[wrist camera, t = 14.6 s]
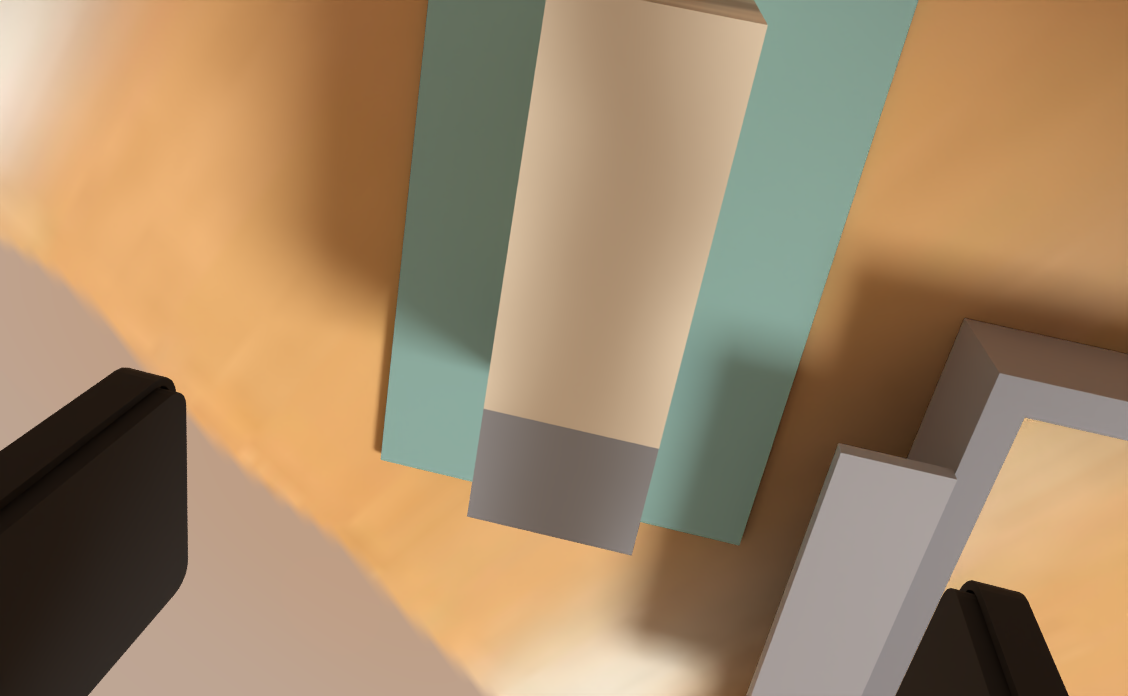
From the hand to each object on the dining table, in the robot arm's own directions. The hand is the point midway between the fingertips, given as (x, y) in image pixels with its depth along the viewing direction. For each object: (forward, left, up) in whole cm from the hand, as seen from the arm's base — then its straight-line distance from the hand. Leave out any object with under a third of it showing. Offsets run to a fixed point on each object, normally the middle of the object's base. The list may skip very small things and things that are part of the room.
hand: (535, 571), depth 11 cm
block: (0, 0, -16) cm, 16 cm away
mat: (+1, 0, -16) cm, 16 cm away
